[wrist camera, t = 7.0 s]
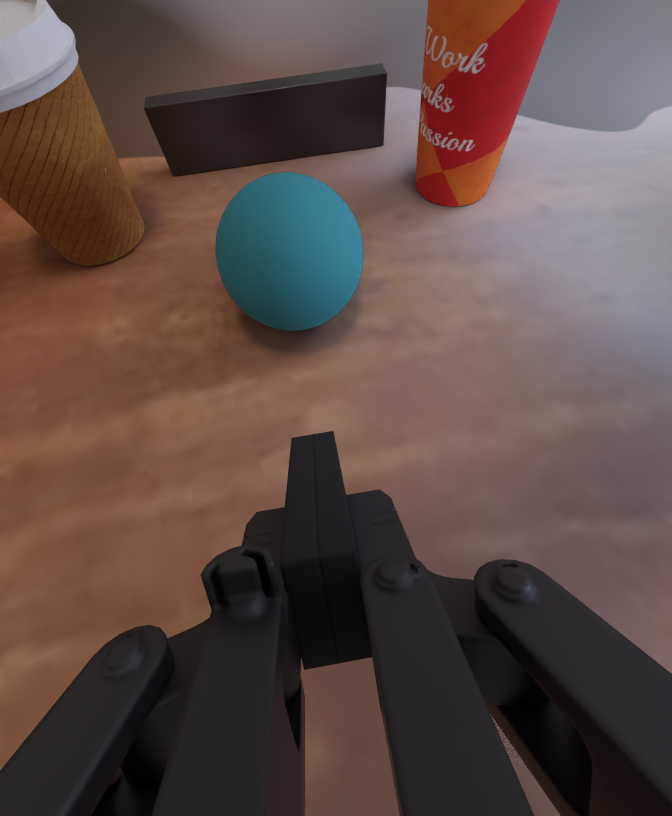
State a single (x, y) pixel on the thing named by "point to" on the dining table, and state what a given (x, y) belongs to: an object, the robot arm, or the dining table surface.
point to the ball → (289, 251)
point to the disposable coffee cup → (58, 142)
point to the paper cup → (473, 90)
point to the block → (270, 119)
